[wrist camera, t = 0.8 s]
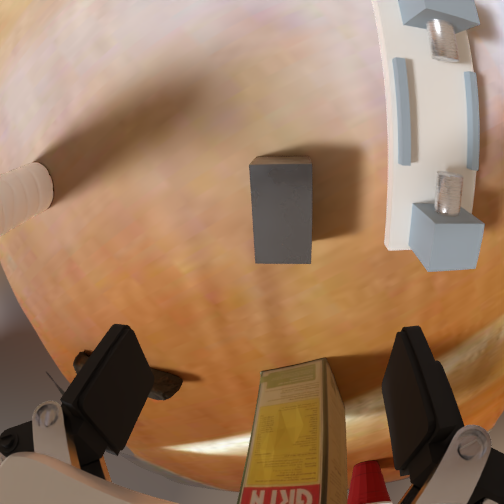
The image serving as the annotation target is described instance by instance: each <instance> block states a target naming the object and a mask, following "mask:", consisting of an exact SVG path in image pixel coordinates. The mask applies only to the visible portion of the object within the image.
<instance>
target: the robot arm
mask: <svg viewBox="0 0 504 504" xmlns="http://www.w3.org/2000/svg"><path fill="white" fill-rule="evenodd" d="M153 385H154V375H153V373H152V371H151V369H150V367H149V364H148V362H147V360H146V358H145V356H144V353H143V351H142V349H141V347H140V344H139V342H138V340H137V337H136V335H135V333H134V331H133V330H132V329H131V328H130V327H129V326H128V325H121V324H114V325H113V326H112V327H111V328H110V329H109V331H108V332H107V333H106V335H105V336H104V337H103V339H102V340H101V342H100V343H99V344H98V346H97V347H96V348H95V350H94V351H93V353H92V354H91V355H90V357H89V358H88V360H87V361H86V362H85V364H84V365H83V367H82V368H81V370H80V371H79V373H78V374H77V375H76V377H75V378H74V380H73V381H72V383H71V384H70V386H69V387H68V389H67V391H66V392H65V393H64V395H63V396H62V398H61V399H60V400H61V402H62V405H61V406H60V405H59V403H57V402H55V401H46V402H44V403H41V404H40V405H39V406H38V407H37V408H36V409H35V411H34V413H33V418H32V421H29V422H26V423H23V424H21V425H18V426H15V427H12V428H9V429H7V430H5V431H4V432H3V433H2V434H1V436H0V504H178V503H174V502H170V501H167V500H163V499H159V498H155V497H152V496H149V495H146V494H143V493H139V492H136V491H133V490H130V489H128V488H125V487H122V486H119V485H117V484H114V483H112V481H111V478H110V475H109V472H108V469H107V466H106V463H105V460H104V457H103V454H104V452H105V451H106V452H108V453H111V454H114V455H117V456H118V454H119V452H120V450H123V449H124V447H125V445H126V443H127V441H128V439H129V436H130V434H131V432H132V430H133V428H134V425H135V423H136V421H137V419H138V417H139V415H140V412H141V410H142V408H143V406H144V404H145V402H146V400H147V397H148V395H149V393H150V391H151V389H152V387H153ZM382 394H383V399H384V404H385V409H386V414H387V420H388V426H389V432H390V438H391V445H392V451H393V459H394V466H395V469H396V470H400V476H405V475H410V480H411V483H412V485H411V486H410V488H409V489H408V490H407V492H406V493H405V495H404V496H403V497H402V499H401V500H400V501H399V503H398V504H504V454H503V453H501V452H499V451H497V450H495V449H493V448H491V446H492V445H491V438H490V436H489V434H488V432H487V431H486V430H485V429H484V428H482V427H480V426H477V425H467V426H465V427H464V424H463V421H462V418H461V415H460V412H459V409H458V406H457V403H456V400H455V397H454V395H453V392H452V389H451V387H450V384H449V382H448V379H447V376H446V374H445V371H444V369H443V367H442V365H441V363H440V362H439V361H435V360H434V357H433V355H432V352H431V350H430V348H429V345H428V343H427V341H426V339H425V336H424V334H423V332H422V330H421V328H420V326H410V327H403V328H402V330H401V332H397V334H396V338H395V342H394V345H393V349H392V352H391V356H390V359H389V363H388V366H387V369H386V372H385V375H384V378H383V382H382Z"/></svg>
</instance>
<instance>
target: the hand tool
mask: <svg viewBox="0 0 504 504" xmlns="http://www.w3.org/2000/svg"><path fill="white" fill-rule="evenodd" d="M88 358H89V357H88V356H86V354H85V352H79V354H78V355H77V357H76V358H75V360H74V363H73V366H74V369H75V371H76V373H77V374H78V373H79V371H80V370H81V368H82V367H83V365H84V364H85V362H86V361H87V360H88ZM150 369H151V371H152V373H153V375H154V385H153V387H152V389H151V391H150V393H149V395H148V397H149V398H152V399H156V400H166V399H169V398H171V397H172V396H173V395H174V394H175V393H176V392H177V391H178V390H179V389H180V387H181V385H182V382H183V380H182V379H181V378H179V377H177V376H174V375H172V374H169V373H166V372H162V371H158V370H155V369H152V368H150Z"/></svg>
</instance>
